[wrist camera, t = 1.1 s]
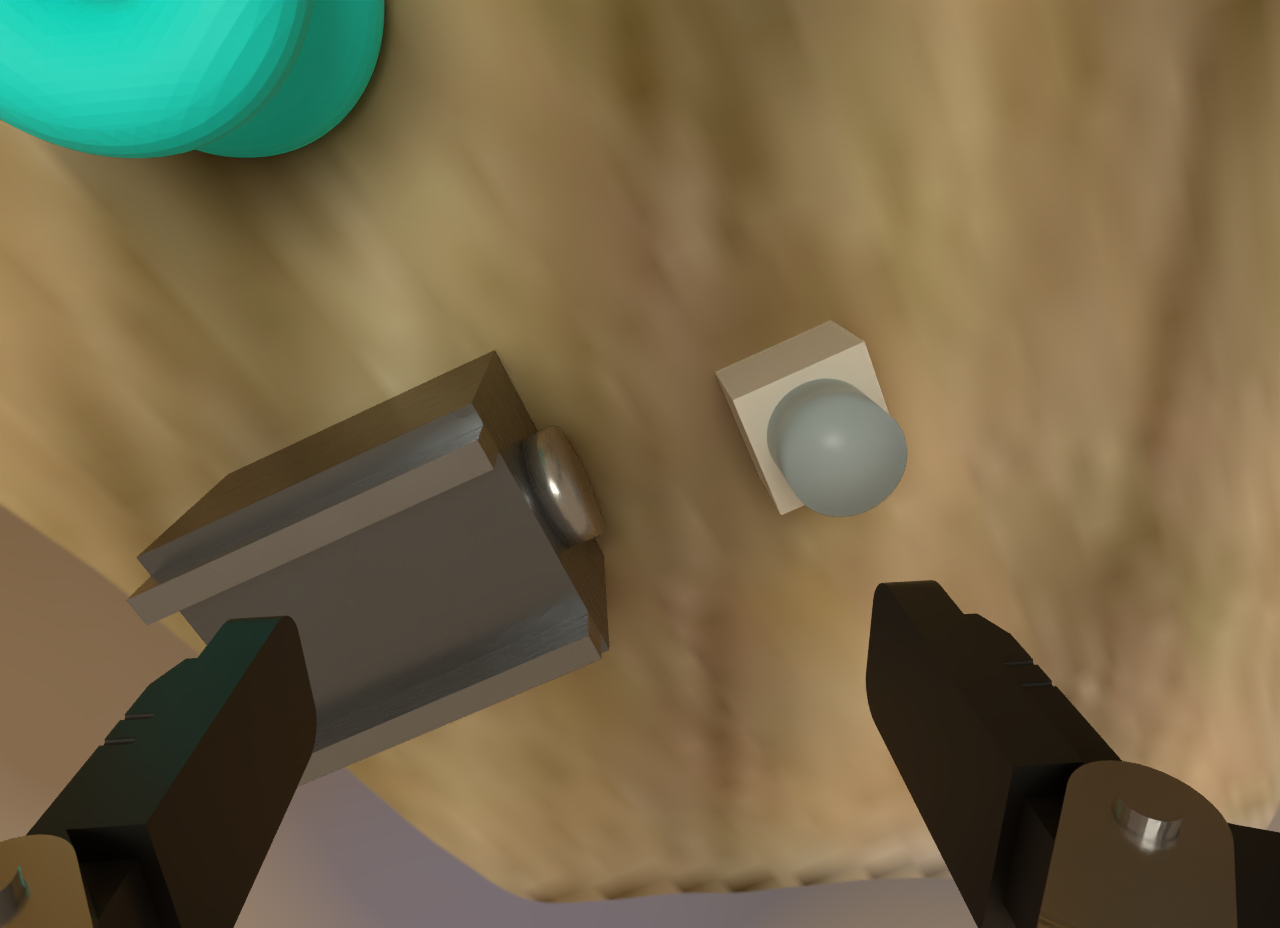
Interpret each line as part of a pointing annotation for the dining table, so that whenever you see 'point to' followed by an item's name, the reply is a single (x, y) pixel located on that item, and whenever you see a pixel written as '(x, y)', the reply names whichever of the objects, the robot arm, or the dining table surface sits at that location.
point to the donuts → (185, 72)
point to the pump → (817, 423)
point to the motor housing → (402, 560)
